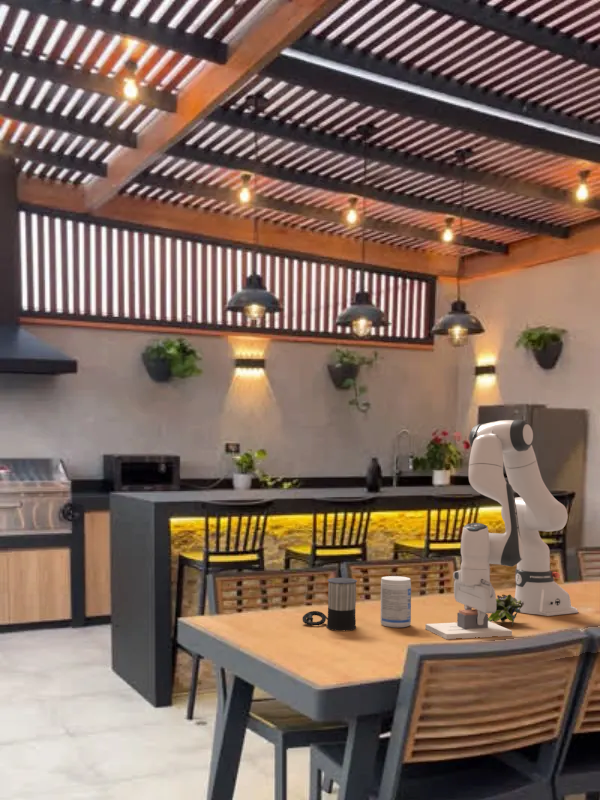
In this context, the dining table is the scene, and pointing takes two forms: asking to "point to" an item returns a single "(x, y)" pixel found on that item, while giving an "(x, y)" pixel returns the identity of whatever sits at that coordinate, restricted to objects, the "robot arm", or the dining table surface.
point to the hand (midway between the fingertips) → (474, 622)
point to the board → (467, 630)
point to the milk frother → (338, 605)
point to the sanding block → (470, 619)
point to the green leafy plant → (506, 608)
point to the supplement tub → (395, 601)
